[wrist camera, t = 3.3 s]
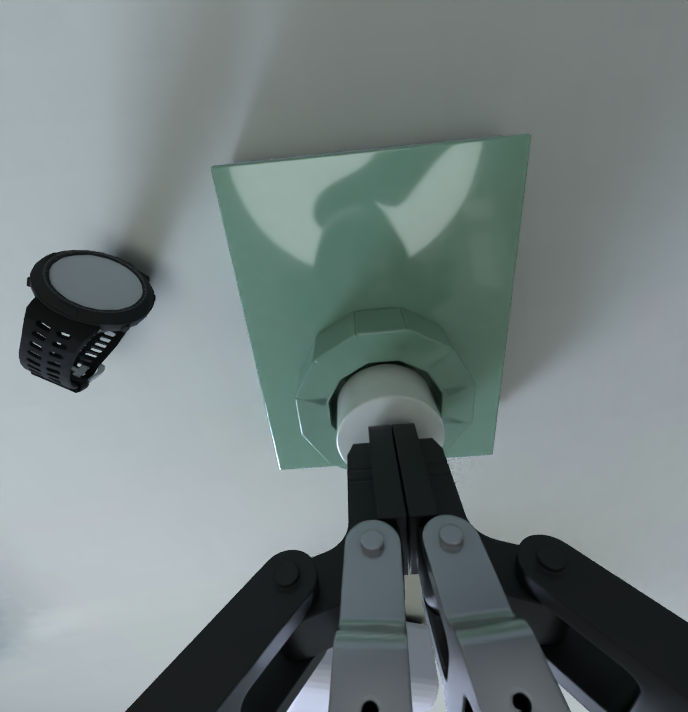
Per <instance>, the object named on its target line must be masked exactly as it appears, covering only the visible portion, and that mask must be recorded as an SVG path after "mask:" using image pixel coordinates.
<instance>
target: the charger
mask: <svg viewBox="0 0 688 712" xmlns="http://www.w3.org/2000/svg"><path fill="white" fill-rule="evenodd" d="M406 629H407V637H408V650H409V664H410V679H411V693H412V708H413V712H428V711H429V710H430V709H431V707H432V706H433V705H434V703H435V700H436V698H437V694H438V688H439V683H438V676H437V670H436V665H435V659H434V654H433V648H432V643H431V637H430V633H429V629H428V626H427V625H424V624H418V623H412V622H406ZM332 656H333V647H332V648H330V649H328V650H327V652H326V654H325V656H324V657H323V659H322V660H321V662H320V663H319V665H318V666H317V668H316V669H315V671H314V672H313V673H312V675H311V676H310V678H309V679H308V681H307V682H306V684H305V685H304V687H303V688H302V690H301V691H300V693H299V694H298V696H297V697H296V699H295V700H294V701H293V703H292V704H291V706H290V707H289V709H288V710H287V712H328V706H329V694H330V681H331V668H332Z"/></svg>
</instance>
